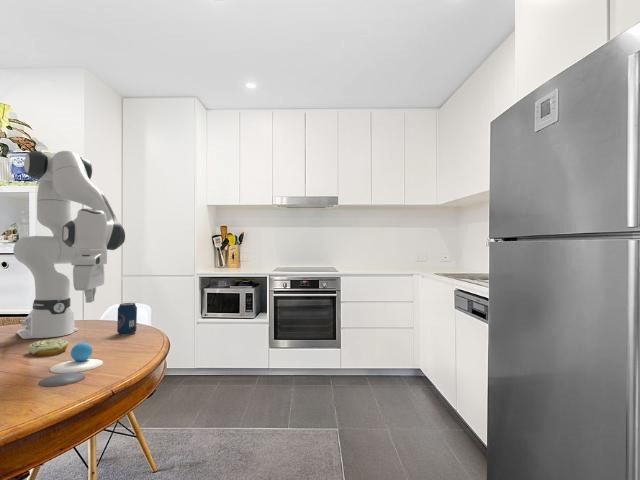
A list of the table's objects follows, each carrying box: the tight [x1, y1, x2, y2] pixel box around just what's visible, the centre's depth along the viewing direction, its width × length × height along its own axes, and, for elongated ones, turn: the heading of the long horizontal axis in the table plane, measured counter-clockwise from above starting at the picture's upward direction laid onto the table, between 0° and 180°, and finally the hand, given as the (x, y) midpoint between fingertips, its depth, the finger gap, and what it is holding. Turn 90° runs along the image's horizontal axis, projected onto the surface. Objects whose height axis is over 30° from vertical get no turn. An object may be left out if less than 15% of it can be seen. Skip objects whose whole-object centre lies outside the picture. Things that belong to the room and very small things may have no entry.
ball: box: [70, 342, 93, 362], centre depth 114 cm, size 6×6×6 cm
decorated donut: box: [28, 338, 69, 357], centre depth 123 cm, size 10×11×4 cm
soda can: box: [116, 302, 138, 336], centre depth 152 cm, size 7×7×12 cm
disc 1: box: [38, 372, 86, 388], centre depth 97 cm, size 10×10×1 cm
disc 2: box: [49, 358, 104, 374], centre depth 109 cm, size 13×13×1 cm
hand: (90, 302), depth 120 cm, fingers closed
